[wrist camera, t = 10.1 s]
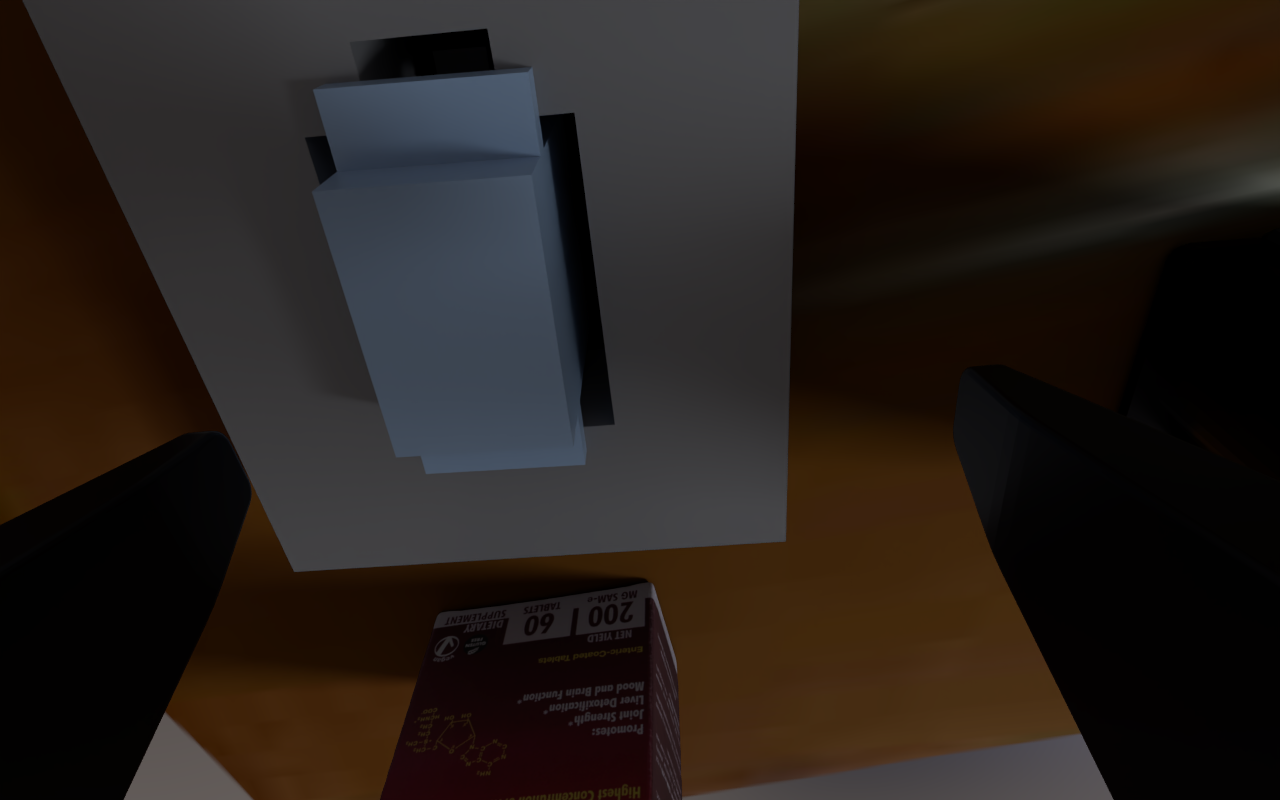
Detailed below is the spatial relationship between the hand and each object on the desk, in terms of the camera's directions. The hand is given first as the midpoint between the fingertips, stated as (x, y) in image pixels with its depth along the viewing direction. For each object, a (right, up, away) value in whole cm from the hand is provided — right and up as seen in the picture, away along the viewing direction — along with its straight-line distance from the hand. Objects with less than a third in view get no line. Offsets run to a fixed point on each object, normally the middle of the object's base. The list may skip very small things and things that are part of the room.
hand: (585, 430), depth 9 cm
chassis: (-3, +5, +11) cm, 12 cm away
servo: (-3, +5, +11) cm, 12 cm away
